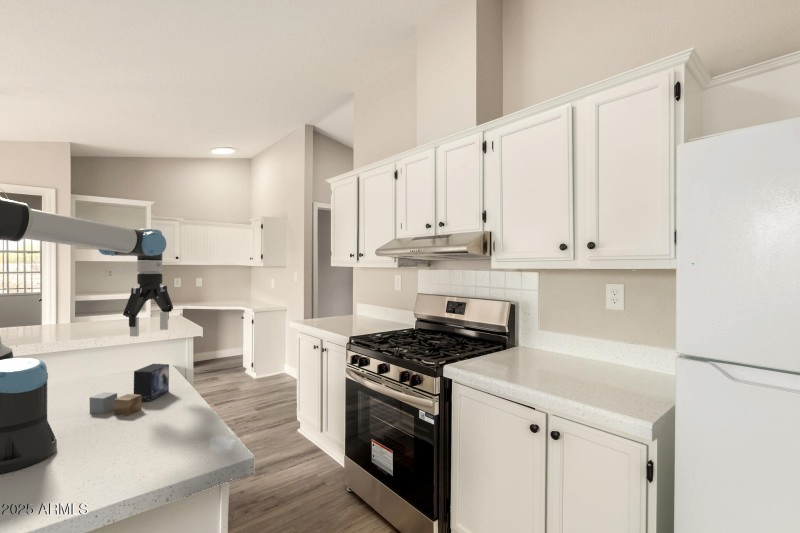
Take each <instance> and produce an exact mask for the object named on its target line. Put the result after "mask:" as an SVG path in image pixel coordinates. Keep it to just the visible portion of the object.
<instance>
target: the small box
mask: <svg viewBox="0 0 800 533" xmlns="http://www.w3.org/2000/svg"><path fill="white" fill-rule="evenodd" d="M169 385H170V364H166V363H165V364H164V363H152V364H149V365H146V366H143V367H141V368H138V369H136V370H134V371H133V394H137V395H141V402H152V401H154V400H156V399H158V398H159V397H162V396H164V395H165V394H167V393H170V390H169V389H170V386H169Z"/></svg>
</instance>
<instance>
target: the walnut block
mask: <svg viewBox="0 0 800 533" xmlns="http://www.w3.org/2000/svg"><path fill="white" fill-rule="evenodd" d="M140 411H142V401H141V395H137V394H134V393H126V394H124V395H121V396H120V397H117V398H116V399H114V410H113V412H114V413H113V415H114V416H121V415H124V417H130V416H132V415H133V414H135V413H138V412H140ZM131 414H132V415H131ZM129 415H130V416H129Z"/></svg>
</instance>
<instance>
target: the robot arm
mask: <svg viewBox="0 0 800 533" xmlns="http://www.w3.org/2000/svg"><path fill="white" fill-rule="evenodd" d="M25 239H26V240H31V241H40V242H47V243H54V244H60V245H61V244H62V245H68V246H69V245H70V246H73V247H74V246H76V247H82V248H90V249H97V250H98V252H99V253H100V254H101V255H104V256H111V257H112V256H116V257H117V256H121V257H122V256H124V257H125V256H128V257H131V256H133V257H137V259H136V260H137V265H136V266H137V267H136V268H137V269H136V270H137V272H138V273H137V274H136V277H137V278H136V279H137V280H136V281H137V285H139V287H131V290H130V295H129V298H128V300H127V303H126V304H125V305H126V306H125V308H124V310H123V313H122V315H123V317H126V318H128V326H129V337H139V336H140V329H139V328H140V317H139V316H138V315H139V313H140V312H141V310H142V309H143V308H144V305H145V303H146V302H148V301H149V300H154V302H155V303H156V304H157V306H158V308H159V309H160V310H161V311H160V312H159V330H161V331H162V330H164V331H168V330H169V319H170V318H169V317H170V315H169V313H170V312H172V310H174V306H173V302H172V301H171V300H172V299H171V297H170V294H169V292H168V286H167V285H161V284H162V283H163V274H162V272H163V253H164V252H165V251H166V249H167V239H166V238H165V236H164V235H163V233H162V230H160V229H155V228H154V229H152V228H151V229H149V228H138V229H132V228H128V227H126V226H119V225H113V224H109V223H104V222H99V221H94V220H88V219H85V218H84V219H83V218H79V217H76V216H75V217H73V216H69V215H63V214H59V213H53V212H50V211H49V212H48V211H43V210H41V209H40V210H39V209H34V208H31V207H30V206H29V205H28V204H27V203H24V202H21V201H20V202H19V201H15V200H11V199H6V198H3V197H0V241H9V242H20V241H22V240H25ZM48 378H49V373H48V367H47V365H46V362H45V361H43V360H40V359H37V358H32V357H27V358H24V357H14V353H13V349H12V348H11V347H9V346H8V345H7V346H6V345H4V344H3V342H2V337H1V336H0V474H4V473H9V472H13V471H17V470H21V469H23V468H26V467H27V468H28V467H29V466H32V465H34V464H37V463H40V462H41V461H44V460H46V459H48V458H49V457H51V456H52V455H53V454H55V453H56V452H57V451H58V445H57V444H58V441H57V438H56V436H55V433H54V431H53V430H52V427H51V425H50V423H49V421H48Z"/></svg>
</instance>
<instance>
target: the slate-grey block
mask: <svg viewBox="0 0 800 533" xmlns="http://www.w3.org/2000/svg"><path fill="white" fill-rule="evenodd" d="M116 398H118V393H117V392H107V391H104V392H101V393H99V394H96V395H93V396H90V397H89V414H98V415H105V414H107V413H109V412H111V411H114V399H116Z"/></svg>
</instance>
